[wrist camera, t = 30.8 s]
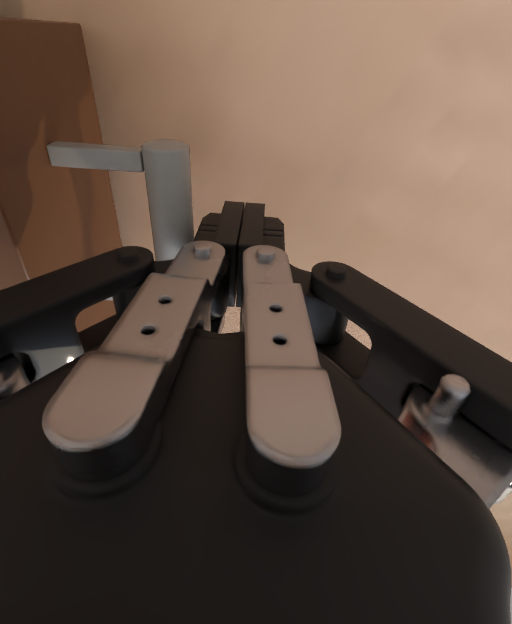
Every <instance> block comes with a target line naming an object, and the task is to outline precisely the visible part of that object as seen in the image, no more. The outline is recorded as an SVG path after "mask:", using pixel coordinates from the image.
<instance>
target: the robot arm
mask: <svg viewBox="0 0 512 624" xmlns="http://www.w3.org/2000/svg"><path fill="white" fill-rule="evenodd" d="M244 209H245V210H244ZM264 211H265V204H259V203H246V205H245V203H244V202H232V201H225V203H224V206H223V210H222V213H221V214H220V213H210V214H208V215H206V216H205V217H203V219H202V221H201V224H200V226H199V229H198V231H197V233H196V236H195V238H194V241H193V242H190V243H187V244H185V245H183V246H182V247H181V248H180V250H179V252H178V253H177V255H176V256H175V258H174V259H171V260H164V261H154V258H153V254H152V252H151V251H150V250H148V249H146V248H143V247H138V246H126V247H121V248H117V249H114V250H111V251H108V252H105V253H103V254H100V255H97V256H94V257H92V258H89V259H86V260H83V261H80V262H78V263H75V264H72V265H69V266H66V267H64V268H61V269H58V270H55V271H53V272H50V273H47V274H44V275H41V276H39V277H36V278H33V279H30V280H27V281H25V282H22V283H19V284H16V285H14V286H11V287H8V288H5V289H2V290H0V624H511V620H510V619H511V618H510V595H511V567H510V559H509V554H508V551H507V547H506V543H505V540H504V538H503V535H502V533H501V530H500V528H499V526H498V524H497V522H496V520H495V518H494V517H493V515H492V513H491V511H490V510H489V509H490V508H491V506H492V505H493V504H495V503H499V502H501V501H503V500H504V499H505V498H506V497H507V496H508V495H509V494H510V493H511V492H512V362H510V361H508V360H507V359H505V358H503V357H501V356H500V355H498V354H496V353H495V352H493V351H491V350H490V349H488V348H486V347H485V346H483V345H481V344H480V343H478V342H476V341H475V340H473V339H471V338H470V337H468V336H466V335H465V334H463V333H461V332H460V331H458V330H456V329H455V328H453V327H451V326H449V325H448V324H446V323H444V322H443V321H441V320H439V319H438V318H436V317H434V316H433V315H431V314H429V313H428V312H426V311H424V310H423V309H421V308H419V307H418V306H416V305H414V304H413V303H411V302H409V301H408V300H406V299H404V298H403V297H401V296H399V295H397V294H396V293H394V292H392V291H391V290H389V289H387V288H386V287H384V286H382V285H381V284H379V283H377V282H376V281H374V280H372V279H371V278H369V277H367V276H366V275H364V274H362V273H361V272H359V271H357V270H356V269H354V268H352V267H350V266H348V265H346V264H343V263H339V262H330V261H328V262H321V263H318V264H316V265H315V266H314V267H313V268H312V272H308V271H304V270H301V269H298V268H296V267H294V266H292V265H291V264H290V263H289V260H288V256H287V254H286V253H285V243H284V224H283V223H282V222H281V221H280V220H279V219H278V218H274V217H264ZM236 292H237V299H236ZM110 297H112V298H113V302H114V306H115V311H116V314H115V315H113V316H111V317H109V318H107V319H105V320H103V321H101V322H99V323H97V324H94V325H92V326H90V327H88V328H86V329H84V330H82V331H80V332H78V331H77V328H76V325H75V321H76V317H77V316H78V314H79V313H80V312H81V311H82V310H84V309H86V308H88V307H90V306H92V305H94V304H97V303H99V302H101V301H103V300H106V299H108V298H110ZM235 299H236V307H241V312H240V332H235V333H225V334H221V332H222V329H223V325H224V321H225V312H226V309H227V306H230V307H234V305H235ZM348 319H349V320H351V321H352V322H354V323H355V324H356V325H358V326H359V327H361V328H362V329H363V330H365V331H366V332H367V333H368V335H369V336H370V339H371V342H372V347H371V350H370V349H368V348H367V347H366V346H364V345H363V344H362V343H360V342H359V341H358V340H356V339H355V338H354V337H352V336H351V335H350V334H348V333H347V332H346V331H345V329H346V326H347V322H348Z"/></svg>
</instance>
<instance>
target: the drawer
mask: <svg viewBox="0 0 512 624" xmlns="http://www.w3.org/2000/svg"><path fill="white" fill-rule="evenodd" d="M108 170H115V171H129V172H143V171H145V179H146V187H147V195H148V203H149V211H150V219H151V227H152V235H153V242H154V250H155V258H156V261H164V260H171V259H174V258H175V256H176V255H177V253H178V252H179V250H180V248H181V247H182V246H183V245H185V244H187V243H190V242H193V241H194V228H193V209H192V189H191V169H190V149H189V145H188V144H187V143H185V142H182V141H178V140H171V139H157V140H150V141H146V142H144V143H143V144H142V146H141V147H130V146H116V145H103V142H102V136H101V131H100V126H99V120H98V115H97V110H96V104H95V99H94V93H93V88H92V83H91V77H90V72H89V67H88V61H87V56H86V51H85V45H84V40H83V35H82V29H81V26H80V24H78V23H68V22H55V21H41V20H28V19H15V18H1V17H0V290H2V289H5V288H8V287H11V286H14V285H16V284H19V283H22V282H25V281H27V280H30V279H33V278H36V277H39V276H41V275H44V274H47V273H50V272H53V271H55V270H58V269H61V268H64V267H66V266H69V265H72V264H75V263H78V262H80V261H83V260H86V259H89V258H92V257H94V256H97V255H100V254H103V253H105V252H108V251H111V250H114V249H117V248H121V247H122V243H121V238H120V233H119V227H118V222H117V217H116V211H115V206H114V201H113V195H112V190H111V184H110V179H109V174H108ZM115 314H116V311H115V306H114V302H113V298H112V297H110V298H108V299H106V300H103V301H101V302H99V303H97V304H94V305H92V306H90V307H88V308H86V309H84V310H82V311H81V312H80V313H79V314H78V316H77V317H76V321H75V325H76V328H77V331H78V332H80V331H82V330H84V329H86V328H88V327H90V326H92V325H94V324H97V323H99V322H101V321H103V320H105V319H107V318H109V317H111V316H113V315H115Z"/></svg>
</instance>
